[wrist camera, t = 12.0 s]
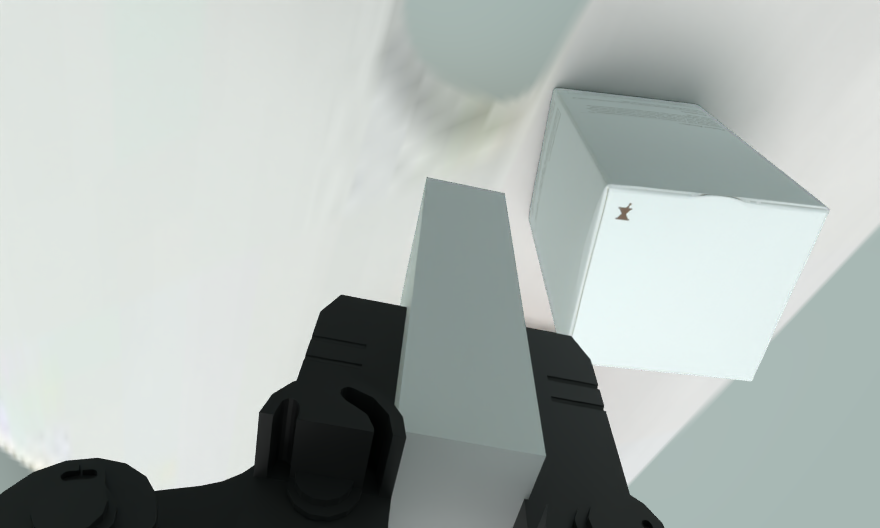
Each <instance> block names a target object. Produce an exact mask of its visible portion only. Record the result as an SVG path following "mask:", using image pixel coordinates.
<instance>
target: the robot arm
mask: <svg viewBox="0 0 880 528" xmlns="http://www.w3.org/2000/svg"><path fill="white" fill-rule="evenodd" d="M597 386H598V383H597V380H596V376H595V373H594V369H593V366H592V362H591V359H590V358H589V357H588V356H587V354H586V353H585V352H584V351H583V350H582V348H581V347H580V346H579V345H578V343H577V342H576V341H575V340H574V339H573V337H572V336H569V335H564V334H559V333H553V332H548V331H543V330H537V329H532V328H527V327H526V326H525V320H524V313H523V307H522V301H521V294H520V288H519V282H518V275H517V269H516V263H515V256H514V250H513V243H512V237H511V231H510V224H509V218H508V212H507V205H506V199H505V193H501V192H496V191H491V190H486V189H481V188H476V187H472V186H467V185H462V184H457V183H452V182H447V181H442V180H438V179H433V178H428V177H427V179H426V183H425V188H424V193H423V198H422V202H421V207H420V212H419V216H418V221H417V226H416V231H415V235H414V240H413V245H412V249H411V254H410V259H409V264H408V268H407V273H406V278H405V283H404V287H403V292H402V297H401V303H400V306H398V305H393V304H388V303H382V302H377V301H372V300H366V299H361V298H356V297H351V296H345V295H340V296H339V297H338V298H337V299H335V300H334V301H333V302H332V303H330V304H329V305H328V306H327V307H326V308H324V309H323V310H322V311H321V312H320V314H319V317H318V320H317V323H316V326H315V329H314V332H313V335H312V339H311V341H310V343H309V346H308V349H307V352H306V356H305V359H304V361H303V364H302V367H301V370H300V372H299V375H298V378H297V381H294V382H292V383H290V384H288V385H287V386H285V387H283V388H282V389H280V390H278V391H277V392H275V393H273V394H272V395H271V397H270V398H269V399H268V401H267V402H266V404H265V405H264V406H263V408H262V409H261V411H260V412H259V421H258V432H257V444H256V455H255V465H254V466H253V467H251V468H250V469H248V470H247V471H245V472H243V473H242V474H239V475H237V476H235V477H232V478H230V479H227V480H225V481H222V482H217V483H212V484H207V485H203V486H196V487H186V488H177V489H168V490H159V491H154V490H153V488H152V486H151V484H150V482H149V481H148V479H147V477H146V476H145V475H143V474H141V473H140V472H138V471H137V470H135V469H134V468H132V467H131V466H129V465H128V464H126V463H121V462H116V461H111V460H106V459H101V458H91V459H80V460H69V461H64V462H61V463H58V464H55V465H53V466H50V467H47V468H44V469H41V470H38V471H35V472H33V473H31V474H30V475H28V476H27V477H25V478H24V479H22V480H21V481H19V482H18V483H16V484H15V485H13V486H12V487H10V488H8V489H7V490H5V491H4V492H3V493H2V494H0V528H664V526H663V524H662V522H661V521H660V520H659V519H658V518H657V517H656V516H655V515H654V514H653V513H652V512H651V511H650V510H649V509H648V508H647V507H646V506H645V505H644V504H643V503H642V502H640V501H638V500H637V499H636V498H634V497H632V496H631V495H630V494H629V490H628V486H627V483H626V480H625V476H624V473H623V469H622V466H621V462H620V459H619V455H618V452H617V449H616V445H615V442H614V438H613V435H612V431H611V428H610V424H609V421H608V418H607V414H606V411H603V408H604V404H603V400H602V397H601V393H600V390H598V389H597Z"/></svg>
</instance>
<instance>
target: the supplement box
mask: <svg viewBox="0 0 880 528" xmlns="http://www.w3.org/2000/svg"><path fill="white" fill-rule="evenodd" d="M829 211H830V209H829V208H828V207H826V206H825V205H824V204H823V203H822V202H820V201H819V200H818V199H817V198H815V197H814V196H813V195H812V194H810V193H809V192H808V191H807V190H805V189H804V188H803V187H801V186H800V185H799V184H798V183H796V182H795V181H794V180H793V179H791V178H790V177H789V176H787V175H786V174H785V173H784V172H782V171H781V170H780V169H779V168H777V167H776V166H775V165H773V164H772V163H771V162H770V161H768V160H767V159H766V158H765V157H763V156H762V155H761V154H759V153H758V152H757V151H756V150H754V149H753V148H752V147H751V146H749V145H748V144H747V143H746V142H744V141H743V140H742V139H741V138H739V137H738V136H737V135H735V134H734V133H733V132H732V131H730V130H729V129H728V128H727V127H725V126H724V125H723V124H722V123H720V122H719V121H718V120H716V119H715V118H714V117H713V116H711V115H710V114H709V113H708V112H707V111H705V110H704V109H703V108H701V107H700V106H699V105H697V104H690V103H682V102H673V101H665V100H657V99H648V98H640V97H632V96H623V95H614V94H606V93H597V92H589V91H580V90H572V89H563V88H555V89H554V91H553V95H552V99H551V104H550V110H549V115H548V120H547V125H546V130H545V135H544V140H543V146H542V151H541V156H540V161H539V166H538V171H537V176H536V181H535V186H534V191H533V196H532V202H531V207H530V214H529V222H530V226H531V230H532V235H533V239H534V243H535V247H536V251H537V255H538V259H539V263H540V267H541V271H542V275H543V279H544V283H545V287H546V291H547V295H548V299H549V303H550V308H551V312H552V316H553V320H554V324H555V329H556V333H559V334H564V335H569V336H572V337H573V339H574V340H575V341H576V342H577V343H578V345H579V346H580V347H581V348H582V350H583V351H584V352H585V353H586V354H587V356H588V357H589V358H590V359H591V362H592V365H597V366H607V367H617V368H626V369H636V370H646V371H656V372H666V373H676V374H686V375H697V376H706V377H716V378H726V379H735V380H746V381H752V380H753V378H754V375H755V372H756V370H757V368H758V366H759V364H760V362H761V360H762V358H763V356H764V354H765V351H766V349H767V347H768V345H769V342H770V340H771V338H772V335H773V333H774V330H775V328H776V326H777V323H778V321H779V319H780V317H781V315H782V313H783V311H784V308H785V306H786V304H787V302H788V299H789V297H790V295H791V293H792V291H793V289H794V287H795V285H796V283H797V280H798V278H799V276H800V274H801V272H802V270H803V268H804V266H805V264H806V262H807V259H808V257H809V255H810V253H811V251H812V249H813V246H814V244H815V242H816V240H817V238H818V236H819V233H820V231H821V229H822V226H823V224H824V222H825V219H826V217H827V215H828V213H829Z"/></svg>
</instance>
